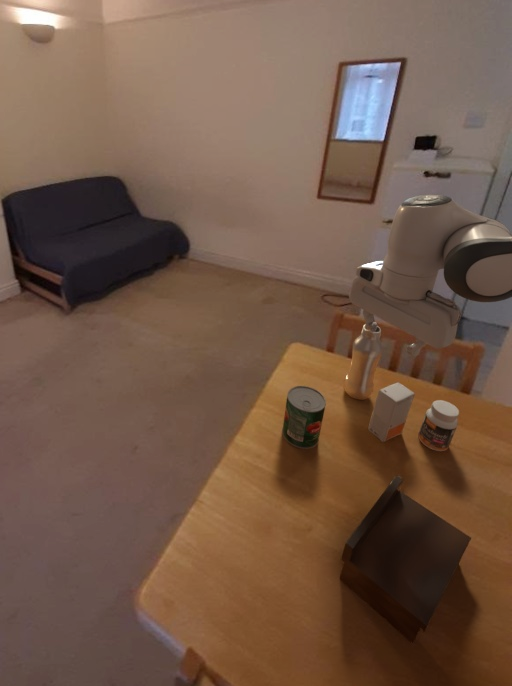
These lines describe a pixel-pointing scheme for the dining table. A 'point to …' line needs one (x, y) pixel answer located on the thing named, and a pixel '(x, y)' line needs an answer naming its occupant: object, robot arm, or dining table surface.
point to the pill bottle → (439, 425)
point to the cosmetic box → (390, 411)
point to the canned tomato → (303, 416)
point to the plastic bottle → (363, 364)
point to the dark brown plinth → (402, 560)
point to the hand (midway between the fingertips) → (390, 341)
